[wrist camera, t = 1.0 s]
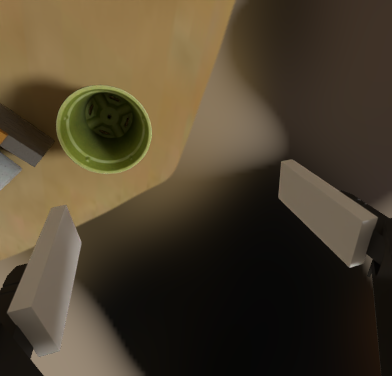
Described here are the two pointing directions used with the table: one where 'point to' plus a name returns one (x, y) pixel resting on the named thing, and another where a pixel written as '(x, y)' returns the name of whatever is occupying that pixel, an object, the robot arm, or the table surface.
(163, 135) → the table surface
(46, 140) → the grey cases
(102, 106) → the plant pot
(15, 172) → the ceramic mug
